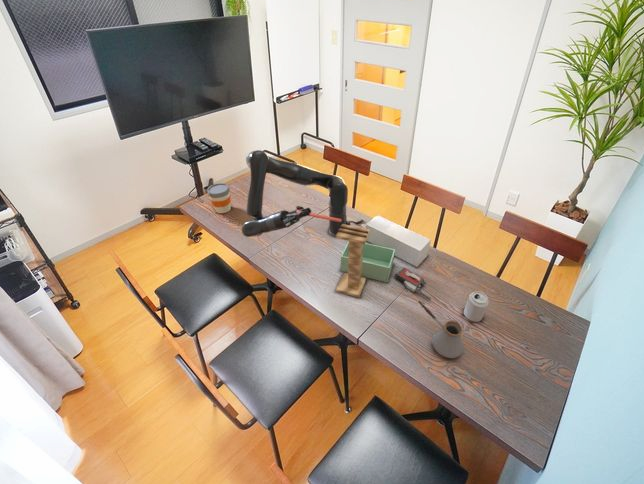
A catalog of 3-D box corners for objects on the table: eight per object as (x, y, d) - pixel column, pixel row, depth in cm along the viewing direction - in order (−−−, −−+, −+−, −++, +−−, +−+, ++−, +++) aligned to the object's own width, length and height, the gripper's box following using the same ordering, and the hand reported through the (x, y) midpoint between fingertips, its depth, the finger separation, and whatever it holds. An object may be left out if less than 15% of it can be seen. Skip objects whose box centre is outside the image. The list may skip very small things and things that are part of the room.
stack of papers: (427, 255, 168) (430, 239, 162) (416, 267, 162) (420, 250, 155) (376, 230, 185) (377, 215, 178) (364, 239, 178) (365, 224, 172)
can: (467, 305, 143) (474, 286, 136) (484, 314, 139) (492, 295, 132) (460, 316, 138) (467, 297, 131) (478, 326, 134) (486, 307, 127)
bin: (340, 270, 160) (340, 256, 154) (348, 253, 170) (349, 239, 164) (387, 282, 154) (389, 268, 148) (393, 263, 164) (395, 249, 158)
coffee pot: (467, 347, 127) (477, 324, 118) (452, 368, 120) (461, 344, 111) (420, 315, 139) (425, 291, 130) (404, 332, 132) (409, 308, 123)
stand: (335, 291, 149) (334, 235, 130) (342, 274, 158) (343, 220, 138) (360, 297, 146) (364, 242, 127) (366, 280, 155) (371, 225, 135)
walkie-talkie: (391, 279, 155) (429, 302, 144) (392, 273, 152) (430, 296, 141) (401, 269, 160) (438, 291, 149) (402, 263, 158) (440, 284, 147)
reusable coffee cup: (212, 205, 206) (206, 184, 197) (233, 202, 209) (228, 181, 200) (212, 216, 196) (206, 195, 187) (234, 212, 199) (229, 191, 190)
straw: (295, 213, 137) (295, 211, 136) (296, 211, 138) (296, 209, 137) (341, 223, 131) (341, 220, 131) (342, 221, 132) (342, 218, 132)
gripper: (266, 223, 137) (297, 213, 128) (281, 205, 147) (311, 195, 138) (276, 236, 140) (307, 228, 131) (289, 218, 150) (319, 209, 141)
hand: (309, 211), depth 134 cm, fingers closed on straw, 1 cm apart
